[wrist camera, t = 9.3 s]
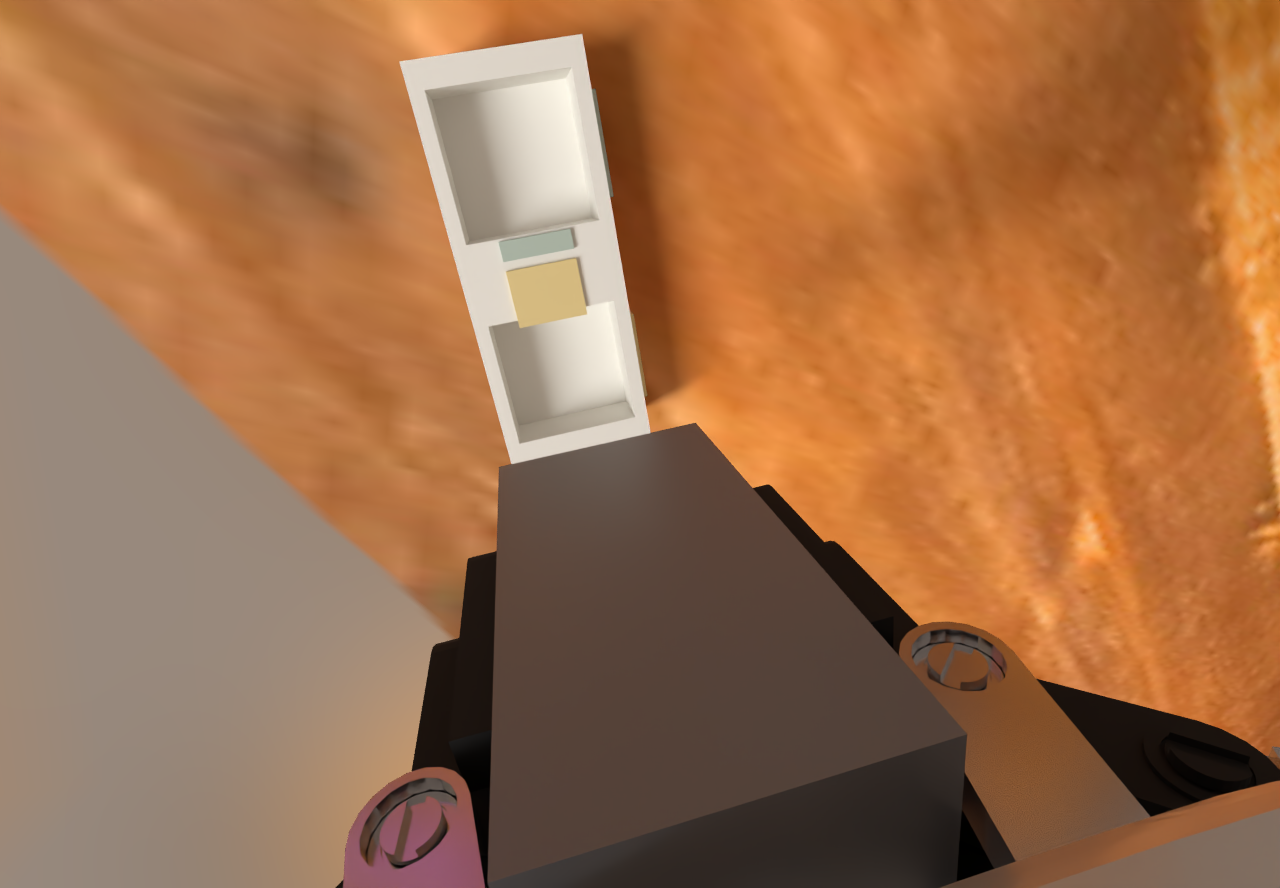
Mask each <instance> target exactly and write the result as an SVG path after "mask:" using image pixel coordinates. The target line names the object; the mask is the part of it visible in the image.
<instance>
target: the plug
mask: <svg viewBox="0 0 1280 888" xmlns="http://www.w3.org/2000/svg"><path fill="white" fill-rule="evenodd" d="M966 744H967V733H966V732H965V731H964V730H963V729H962V728H961V726H960V725H959V724H958V723H957V722H956V721H955V720H954V718H953V717H952V716H951V715H950V714H949V713H948V712H947V710H946V709H945V708H944V707H943V706H942V705H941V703H940V702H939V701H938V700H937V699H936V698H935V697H934V695H933V694H932V693H931V692H930V691H929V690H928V689H927V687H926V686H925V685H924V684H923V683H922V682H921V681H920V679H919V678H918V677H917V676H916V675H915V674H914V673H913V671H912V670H911V669H910V668H909V667H908V666H907V665H906V663H905V662H904V661H903V660H902V659H901V658H900V657H899V655H898V654H897V653H896V652H895V651H894V650H893V649H892V647H891V646H890V645H889V644H888V643H887V642H886V640H885V639H884V638H883V637H882V636H881V635H880V634H879V632H878V631H877V630H876V629H875V628H874V627H873V626H872V624H871V623H870V622H869V621H868V620H867V619H866V618H865V616H864V615H863V614H862V613H861V612H860V611H859V610H858V608H857V607H856V606H855V605H854V604H853V603H852V602H851V600H850V599H849V598H848V597H847V596H846V595H845V594H844V592H843V591H842V590H841V589H840V588H839V587H838V585H837V584H836V583H835V582H834V581H833V580H832V579H831V577H830V576H829V575H828V574H827V573H826V572H825V571H824V569H823V568H822V567H821V566H820V565H819V564H818V563H817V561H816V560H815V559H814V558H813V557H812V556H811V555H810V553H809V552H808V551H807V550H806V549H805V548H804V547H803V545H802V544H801V543H800V542H799V541H798V540H797V539H796V537H795V536H794V535H793V534H792V533H791V532H790V530H789V529H788V528H787V527H786V526H785V525H784V524H783V522H782V521H781V520H780V519H779V518H778V517H777V516H776V514H775V513H774V512H773V511H772V510H771V509H770V508H769V506H768V505H767V504H766V503H765V502H764V501H763V500H762V498H761V497H760V496H759V495H758V494H757V493H756V492H755V490H754V489H753V488H752V487H751V486H750V485H749V484H748V482H747V481H746V480H745V479H744V478H743V477H742V476H741V474H740V473H739V472H738V471H737V470H736V469H735V467H734V466H733V465H732V464H731V463H730V462H729V461H728V459H727V458H726V457H725V456H724V455H723V454H722V453H721V451H720V450H719V449H718V448H717V447H716V446H715V445H714V443H713V442H712V441H711V440H710V439H709V438H708V437H707V435H706V434H705V433H704V432H703V431H702V430H701V429H700V427H699V426H698V425H697V424H696V423H693V424H688V425H684V426H679V427H675V428H670V429H666V430H662V431H657V432H653V433H648V434H644V435H639V436H635V437H630V438H626V439H622V440H617V441H613V442H608V443H604V444H599V445H595V446H590V447H586V448H581V449H577V450H573V451H568V452H564V453H559V454H555V455H550V456H546V457H541V458H537V459H533V460H528V461H524V462H519V463H515V464H510V465H506V466H501V467H499V487H498V523H497V559H496V595H495V631H494V667H493V703H492V739H491V775H490V811H489V847H488V886H489V888H940V887H943V886H946V885H949V884H952V883H954V882H957V868H958V854H959V841H960V827H961V813H962V799H963V786H964V772H965V758H966Z"/></svg>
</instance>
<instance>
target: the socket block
mask: <svg viewBox="0 0 1280 888" xmlns="http://www.w3.org/2000/svg"><path fill="white" fill-rule="evenodd" d="M400 65H401V68H402V72H403V76H404V79H405V83H406V86H407V90H408V94H409V97H410V101H411V104H412V108H413V112H414V115H415V119H416V122H417V126H418V129H419V133H420V137H421V140H422V144H423V147H424V151H425V155H426V158H427V162H428V165H429V169H430V173H431V176H432V180H433V183H434V187H435V191H436V194H437V198H438V201H439V205H440V209H441V212H442V216H443V219H444V223H445V226H446V230H447V234H448V237H449V241H450V244H451V248H452V252H453V255H454V259H455V262H456V266H457V270H458V273H459V277H460V280H461V284H462V288H463V291H464V295H465V298H466V302H467V305H468V309H469V313H470V316H471V320H472V323H473V327H474V331H475V334H476V338H477V341H478V345H479V349H480V352H481V356H482V359H483V363H484V367H485V370H486V374H487V377H488V381H489V385H490V388H491V392H492V395H493V399H494V402H495V406H496V410H497V413H498V417H499V420H500V424H501V428H502V431H503V435H504V438H505V442H506V446H507V449H508V453H509V456H510V460H511V464H515V463H519V462H524V461H528V460H533V459H537V458H541V457H546V456H550V455H555V454H559V453H564V452H568V451H573V450H577V449H581V448H586V447H590V446H595V445H599V444H604V443H608V442H613V441H617V440H622V439H626V438H630V437H635V436H639V435H644V434H648V433H650V427H649V421H648V415H647V409H646V404H645V398H644V397H646V396H647V391H646V385H645V379H644V373H643V367H642V361H641V355H640V349H639V343H638V337H637V332H636V326H635V320H634V314H633V313H632V312H631V311H630V310H629V305H628V299H627V293H626V287H625V281H624V275H623V270H622V264H621V258H620V252H619V246H618V240H617V235H616V229H615V223H614V217H613V211H612V205H611V200H610V197H614V196H613V190H612V184H611V178H610V172H609V166H608V160H607V154H606V148H605V143H604V137H603V131H602V125H601V119H600V113H599V107H598V101H597V95H596V89H591V83H590V77H589V71H588V66H587V60H586V54H585V48H584V42H583V36H582V34H579V35H572V36H566V37H559V38H552V39H546V40H539V41H533V42H526V43H519V44H513V45H506V46H499V47H493V48H486V49H480V50H473V51H466V52H460V53H453V54H447V55H440V56H433V57H427V58H420V59H414V60H407V61H400Z"/></svg>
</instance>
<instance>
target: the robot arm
mask: <svg viewBox="0 0 1280 888" xmlns="http://www.w3.org/2000/svg"><path fill="white" fill-rule="evenodd" d="M753 489H754V490H755V492H756V493H757V494H758V495H759V496H760V497H761V498H762V500H763V501H764V502H765V503H766V504H767V505H768V506H769V508H770V509H771V510H772V511H773V512H774V513H775V514H776V516H777V517H778V518H779V519H780V520H781V521H782V522H783V524H784V525H785V526H786V527H787V528H788V529H789V530H790V532H791V533H792V534H793V535H794V536H795V537H796V539H797V540H798V541H799V542H800V543H801V544H802V545H803V547H804V548H805V549H806V550H807V551H808V552H809V553H810V555H811V556H812V557H813V558H814V559H815V560H816V561H817V563H818V564H819V565H820V566H821V567H822V568H823V569H824V571H825V572H826V573H827V574H828V575H829V576H830V577H831V579H832V580H833V581H834V582H835V583H836V584H837V585H838V587H839V588H840V589H841V590H842V591H843V592H844V594H845V595H846V596H847V597H848V598H849V599H850V600H851V602H852V603H853V604H854V605H855V606H856V607H857V608H858V610H859V611H860V612H861V613H862V614H863V615H864V616H865V618H866V619H867V620H868V621H869V622H870V623H871V624H872V626H873V627H874V628H875V629H876V630H877V631H878V632H879V634H880V635H881V636H882V637H883V638H884V639H885V640H886V642H887V643H888V644H889V645H890V646H891V647H892V649H893V650H894V651H895V652H896V653H897V654H898V655H899V657H900V658H901V659H902V660H903V661H904V662H905V663H906V665H907V666H908V667H909V668H910V669H911V670H912V671H913V673H914V674H915V675H916V676H917V677H918V678H919V679H920V681H921V682H922V683H923V684H924V685H925V686H926V687H927V689H928V690H929V691H930V692H931V693H932V694H933V695H934V697H935V698H936V699H937V700H938V701H939V702H940V703H941V705H942V706H943V707H944V708H945V709H946V710H947V712H948V713H949V714H950V715H951V716H952V717H953V718H954V720H955V721H956V722H957V723H958V724H959V725H960V726H961V728H962V729H963V730H964V731H965V732H966V733H967V744H966V758H965V772H964V786H963V799H962V813H961V827H960V841H959V854H958V868H957V882H954V883H952V884H949V885H946V886H943V887H940V888H1280V748H1279V747H1272V748H1271V751H1270V754H1269V756H1265V755H1264V754H1262V753H1261V752H1260V751H1258V750H1257V749H1256V748H1254V747H1253V746H1251V745H1250V744H1249V743H1247V742H1246V741H1244V740H1242V739H1240V738H1238V737H1236V736H1234V735H1232V734H1230V733H1228V732H1226V731H1224V730H1222V729H1220V728H1217V727H1214V726H1211V725H1208V724H1205V723H1202V722H1199V721H1196V720H1192V719H1189V718H1185V717H1181V716H1177V715H1173V714H1169V713H1166V712H1162V711H1158V710H1154V709H1150V708H1146V707H1143V706H1139V705H1135V704H1131V703H1127V702H1123V701H1120V700H1116V699H1112V698H1108V697H1104V696H1100V695H1097V694H1093V693H1089V692H1085V691H1081V690H1077V689H1074V688H1070V687H1066V686H1062V685H1058V684H1054V683H1051V682H1047V681H1043V680H1039V679H1036V678H1035V677H1034V676H1033V674H1032V673H1031V672H1030V671H1029V670H1028V668H1027V667H1026V666H1025V665H1024V664H1023V662H1022V661H1021V660H1020V659H1019V658H1018V656H1017V655H1016V654H1015V653H1014V652H1013V650H1011V649H1010V648H1009V647H1008V646H1007V645H1006V644H1005V643H1004V642H1003V641H1002V640H1001V639H999V638H997V637H995V636H994V635H992V634H990V633H988V632H987V631H985V630H982V629H979V628H976V627H973V626H970V625H967V624H961V623H954V622H932V623H928V624H924V625H921V626H918V625H917V624H916V623H915V622H914V621H913V620H912V619H911V618H910V616H909V615H908V614H907V613H906V612H905V611H904V610H903V609H902V608H901V607H900V606H899V605H898V604H897V603H896V602H895V601H894V600H893V599H892V598H891V597H890V596H889V595H888V594H887V593H886V592H885V591H884V590H883V589H882V588H881V587H880V586H879V585H878V584H877V583H876V582H875V581H874V580H873V579H872V578H871V577H870V576H869V575H868V574H867V573H866V572H865V570H864V569H863V568H862V567H861V566H860V565H859V564H858V563H857V562H856V561H855V560H854V559H853V558H852V557H851V556H850V555H849V554H848V553H847V552H846V551H845V550H844V549H843V548H842V547H841V546H840V545H839V544H837V543H836V542H835V541H827V542H823V540H822V539H821V538H820V537H819V536H818V535H817V534H816V533H815V532H814V531H813V530H812V529H811V528H810V527H809V526H808V525H807V523H806V522H805V521H804V520H803V519H802V518H801V517H800V516H799V515H798V514H797V513H796V512H795V511H794V510H793V509H792V508H791V506H790V505H789V504H788V503H787V502H786V501H785V500H784V499H783V498H782V497H781V496H780V495H779V494H778V493H777V492H776V491H775V489H774V488H773V487H772V486H770V485H764V486H759V487H755V488H753ZM496 559H497V551H496V552H492V553H488V554H484V555H480V556H476V557H472V558H469V559H468V562H467V571H466V581H465V590H464V599H463V609H462V618H461V628H460V637H459V638H458V639H454V640H450V641H446V642H443V643H439V644H436V645H435V646H434V647H433V649H432V652H431V658H430V664H429V670H428V677H427V682H426V688H425V694H424V700H423V706H422V712H421V719H420V724H419V730H418V736H417V742H416V748H415V754H414V760H413V766H412V772H409V773H406V774H404V775H403V776H401V777H399V778H397V779H396V780H394V781H392V782H390V783H388V784H387V785H386V786H385V787H384V788H383V789H381V790H380V791H379V792H378V793H376V794H375V795H374V796H373V797H372V798H371V799H370V801H369V802H368V803H367V804H366V805H365V806H364V808H363V809H362V810H361V811H360V813H359V814H358V816H357V818H356V820H355V822H354V824H353V826H352V827H351V829H350V831H349V835H348V840H347V844H346V848H345V862H344V863H345V864H344V879H343V881H342V882H341V883H340V884H339V885H338V886H337V887H336V888H489V886H488V847H489V811H490V775H491V739H492V703H493V667H494V631H495V595H496Z"/></svg>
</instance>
